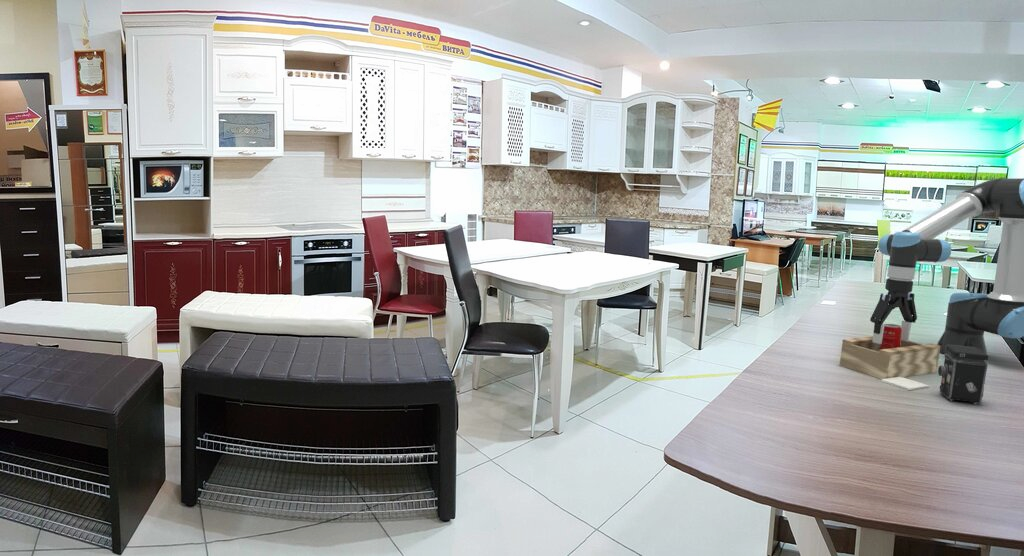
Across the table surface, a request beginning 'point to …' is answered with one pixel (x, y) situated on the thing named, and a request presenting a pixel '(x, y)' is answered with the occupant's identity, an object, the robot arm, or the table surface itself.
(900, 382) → the tile
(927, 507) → the table surface
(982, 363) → the camera
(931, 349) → the slot box
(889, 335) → the beverage can
